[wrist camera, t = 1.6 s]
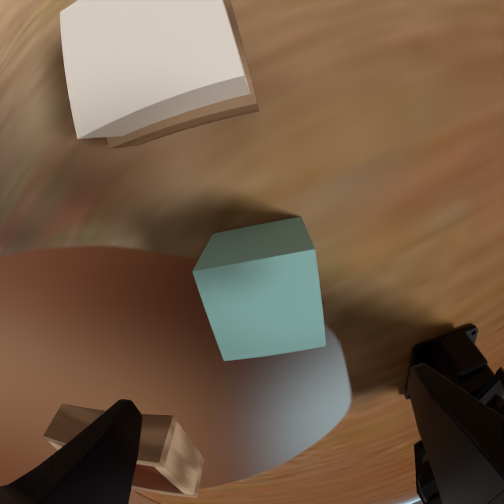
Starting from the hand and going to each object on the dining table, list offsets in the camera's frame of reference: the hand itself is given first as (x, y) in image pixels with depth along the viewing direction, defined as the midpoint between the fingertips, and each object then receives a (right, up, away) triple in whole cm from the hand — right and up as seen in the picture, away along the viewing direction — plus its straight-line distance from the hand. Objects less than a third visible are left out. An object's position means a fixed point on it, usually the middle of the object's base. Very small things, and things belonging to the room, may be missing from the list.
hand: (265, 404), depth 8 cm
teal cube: (0, +4, +9) cm, 10 cm away
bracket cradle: (-14, -16, +18) cm, 28 cm away
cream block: (-4, +13, +2) cm, 14 cm away
